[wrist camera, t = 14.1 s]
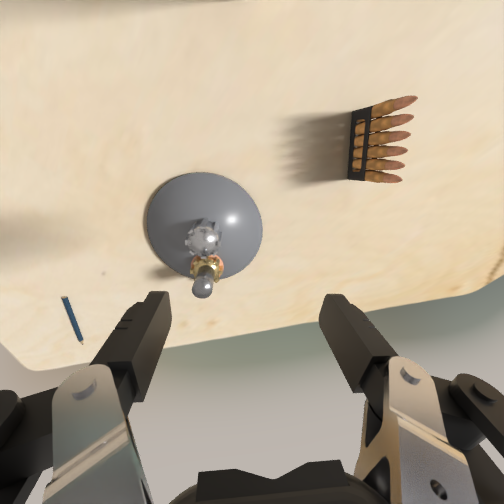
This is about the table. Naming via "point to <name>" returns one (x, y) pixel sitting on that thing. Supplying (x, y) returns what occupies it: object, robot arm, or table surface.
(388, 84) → the table surface
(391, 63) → the table surface
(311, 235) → the table surface
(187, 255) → the carrier plate
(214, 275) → the planet gear
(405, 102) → the ammunition clip
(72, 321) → the pencil
